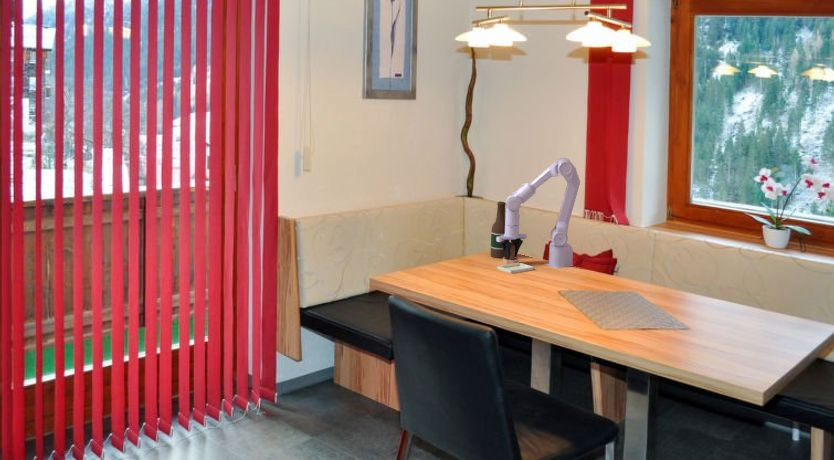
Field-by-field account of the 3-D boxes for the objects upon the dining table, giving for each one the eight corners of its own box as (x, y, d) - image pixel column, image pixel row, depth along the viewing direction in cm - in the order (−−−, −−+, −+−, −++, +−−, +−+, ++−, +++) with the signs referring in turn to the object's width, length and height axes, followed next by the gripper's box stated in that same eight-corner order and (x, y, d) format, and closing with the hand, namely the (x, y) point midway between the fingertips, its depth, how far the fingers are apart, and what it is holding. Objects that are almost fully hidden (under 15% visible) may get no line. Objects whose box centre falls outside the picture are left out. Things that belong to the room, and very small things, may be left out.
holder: (511, 261, 369) (511, 256, 368) (521, 265, 364) (521, 259, 363) (499, 263, 365) (499, 257, 365) (509, 266, 360) (509, 260, 360)
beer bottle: (506, 255, 380) (509, 200, 376) (509, 259, 373) (512, 203, 368) (489, 255, 380) (491, 200, 375) (491, 259, 372) (493, 203, 368)
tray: (519, 266, 361) (519, 262, 361) (534, 271, 354) (534, 267, 354) (496, 269, 355) (496, 266, 354) (511, 274, 347) (511, 270, 347)
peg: (511, 262, 366) (511, 244, 365) (516, 263, 364) (516, 245, 362) (505, 262, 365) (505, 245, 363) (510, 264, 362) (510, 246, 361)
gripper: (519, 221, 368) (517, 253, 371) (492, 224, 360) (490, 257, 363) (530, 224, 363) (529, 256, 365) (503, 227, 355) (501, 260, 357)
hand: (510, 257), depth 364 cm, fingers open, 3 cm apart
